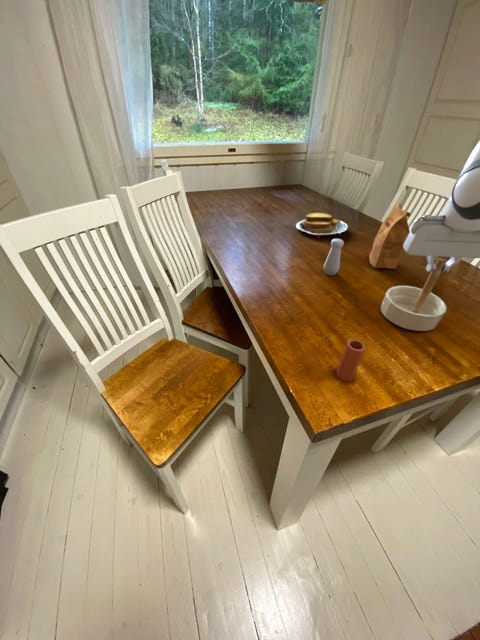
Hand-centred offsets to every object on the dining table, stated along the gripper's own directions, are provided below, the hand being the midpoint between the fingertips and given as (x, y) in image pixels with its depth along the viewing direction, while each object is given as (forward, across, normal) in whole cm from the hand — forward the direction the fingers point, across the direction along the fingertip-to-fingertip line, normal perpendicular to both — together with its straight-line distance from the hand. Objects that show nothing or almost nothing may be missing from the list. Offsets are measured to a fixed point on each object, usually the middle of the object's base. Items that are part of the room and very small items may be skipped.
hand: (436, 271), depth 70 cm
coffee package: (+17, +3, +38) cm, 42 cm away
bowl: (+17, 0, +3) cm, 17 cm away
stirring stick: (+15, 0, 0) cm, 15 cm away
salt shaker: (+17, -19, +28) cm, 38 cm away
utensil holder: (+17, -24, -23) cm, 37 cm away
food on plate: (+17, -16, +72) cm, 76 cm away
